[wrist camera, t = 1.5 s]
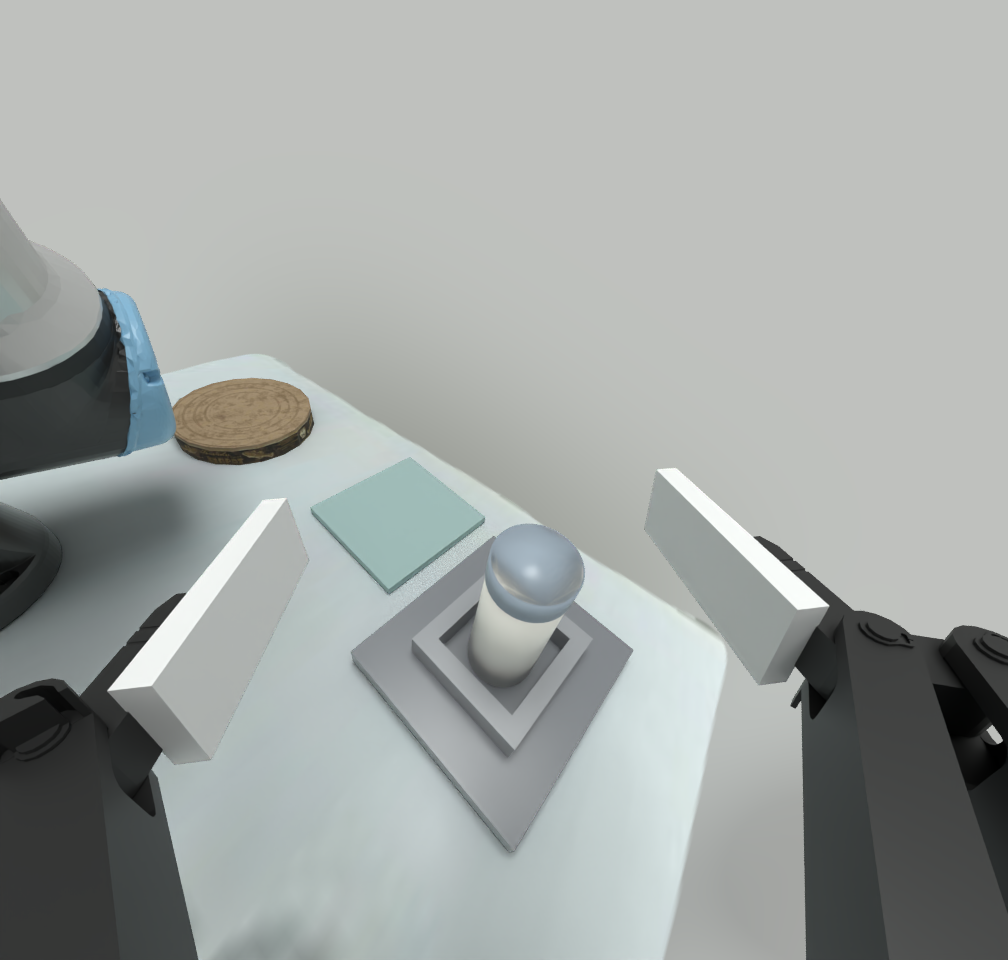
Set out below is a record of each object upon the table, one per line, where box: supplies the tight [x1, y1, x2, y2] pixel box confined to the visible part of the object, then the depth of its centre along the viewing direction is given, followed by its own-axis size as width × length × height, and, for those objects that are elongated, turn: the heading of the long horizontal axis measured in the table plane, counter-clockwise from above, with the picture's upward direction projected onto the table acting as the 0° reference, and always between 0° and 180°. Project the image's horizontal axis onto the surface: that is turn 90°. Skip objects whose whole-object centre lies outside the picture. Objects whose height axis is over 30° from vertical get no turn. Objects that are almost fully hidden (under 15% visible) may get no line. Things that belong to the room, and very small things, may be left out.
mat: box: [310, 457, 485, 594], centre depth 44 cm, size 14×14×1 cm
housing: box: [351, 536, 633, 852], centre depth 33 cm, size 18×18×4 cm
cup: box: [468, 524, 585, 688], centre depth 29 cm, size 6×6×14 cm
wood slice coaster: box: [172, 378, 314, 465], centre depth 51 cm, size 16×16×3 cm
